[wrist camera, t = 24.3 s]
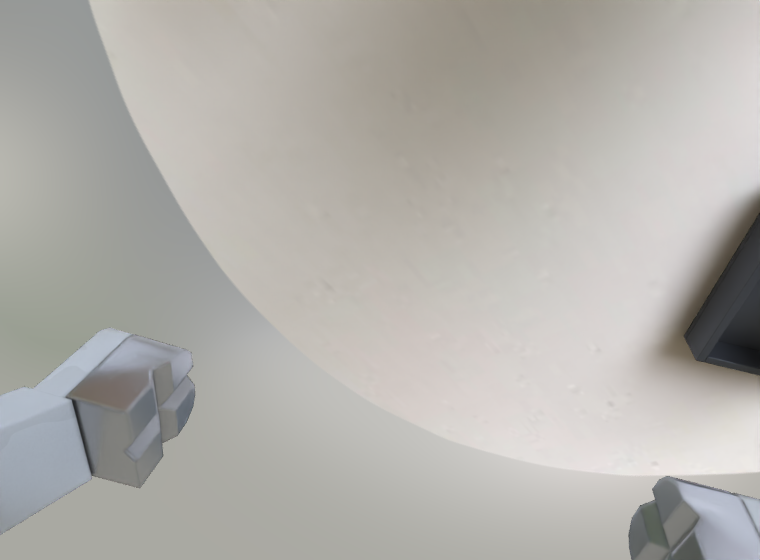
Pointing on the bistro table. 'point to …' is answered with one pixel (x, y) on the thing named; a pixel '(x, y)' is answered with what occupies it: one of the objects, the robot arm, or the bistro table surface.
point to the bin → (732, 313)
